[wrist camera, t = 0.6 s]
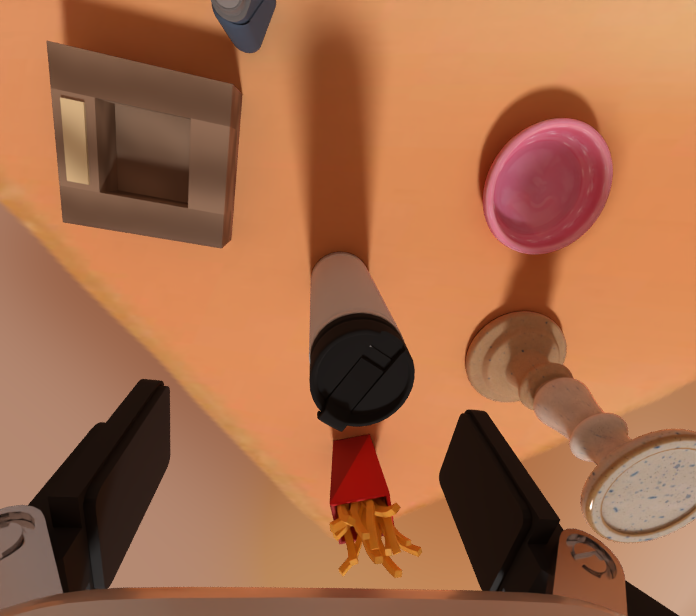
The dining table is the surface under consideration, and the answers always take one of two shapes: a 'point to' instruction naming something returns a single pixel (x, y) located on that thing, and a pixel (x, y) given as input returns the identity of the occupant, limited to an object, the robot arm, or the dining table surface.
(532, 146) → the saucer
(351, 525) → the french fries
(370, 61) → the dining table surface
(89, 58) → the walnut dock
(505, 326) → the candle holder
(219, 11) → the vaping device
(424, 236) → the dining table surface
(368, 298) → the travel mug
